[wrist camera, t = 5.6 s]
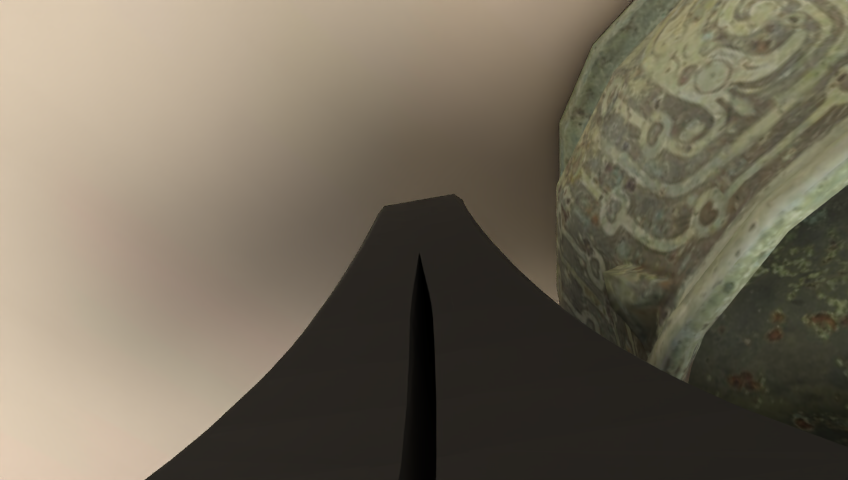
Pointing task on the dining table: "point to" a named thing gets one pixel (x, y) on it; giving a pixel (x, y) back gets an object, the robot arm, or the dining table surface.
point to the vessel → (716, 200)
